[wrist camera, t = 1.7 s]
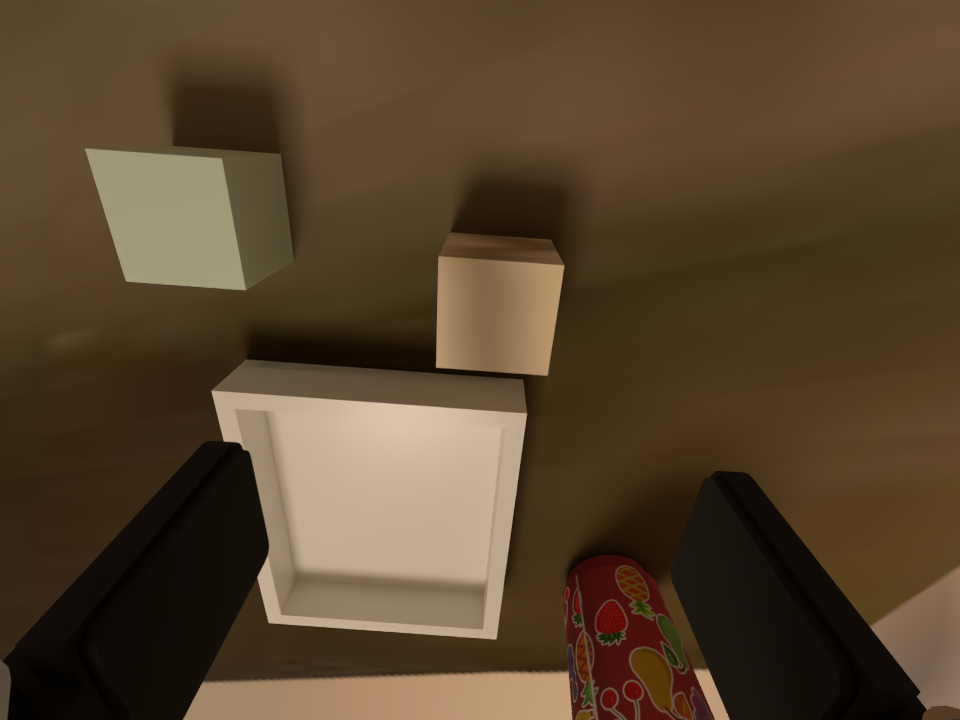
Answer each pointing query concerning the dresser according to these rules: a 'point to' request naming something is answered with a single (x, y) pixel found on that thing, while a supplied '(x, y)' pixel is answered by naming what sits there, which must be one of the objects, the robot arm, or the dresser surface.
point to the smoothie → (625, 647)
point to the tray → (380, 492)
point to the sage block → (194, 214)
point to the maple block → (497, 303)
